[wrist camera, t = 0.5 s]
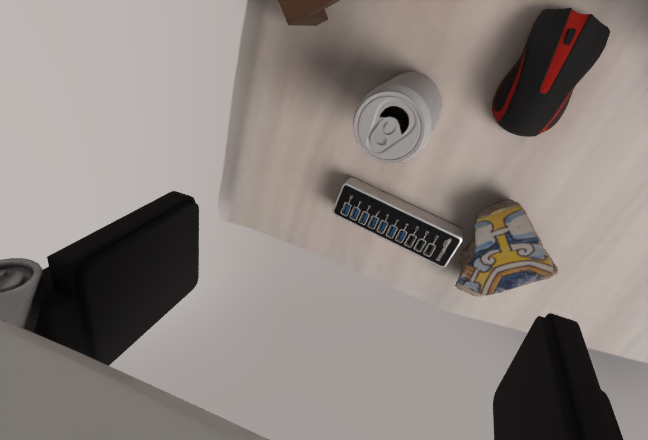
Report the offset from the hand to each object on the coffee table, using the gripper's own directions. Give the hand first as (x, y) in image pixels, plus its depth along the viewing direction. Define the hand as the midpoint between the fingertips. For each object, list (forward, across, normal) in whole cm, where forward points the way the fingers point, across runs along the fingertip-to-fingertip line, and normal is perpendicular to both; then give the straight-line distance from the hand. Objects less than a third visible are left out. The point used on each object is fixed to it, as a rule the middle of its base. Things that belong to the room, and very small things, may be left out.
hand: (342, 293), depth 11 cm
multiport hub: (+34, +1, +14) cm, 37 cm away
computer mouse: (+35, -8, -4) cm, 36 cm away
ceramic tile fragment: (+33, -6, +14) cm, 36 cm away
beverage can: (+35, +3, +1) cm, 35 cm away
